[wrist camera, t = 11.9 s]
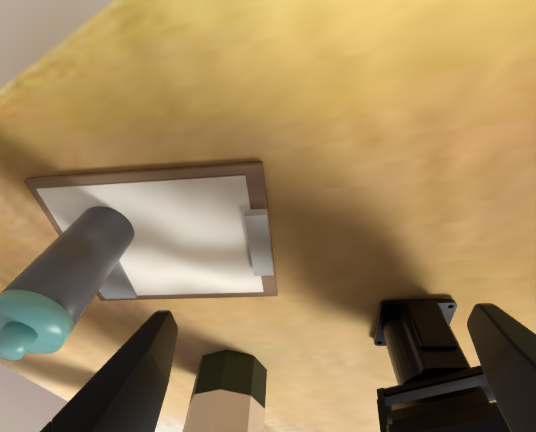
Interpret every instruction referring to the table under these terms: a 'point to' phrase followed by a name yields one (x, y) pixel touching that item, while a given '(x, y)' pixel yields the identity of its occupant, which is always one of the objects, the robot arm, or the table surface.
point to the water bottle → (61, 283)
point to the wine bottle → (228, 394)
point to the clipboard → (176, 228)
